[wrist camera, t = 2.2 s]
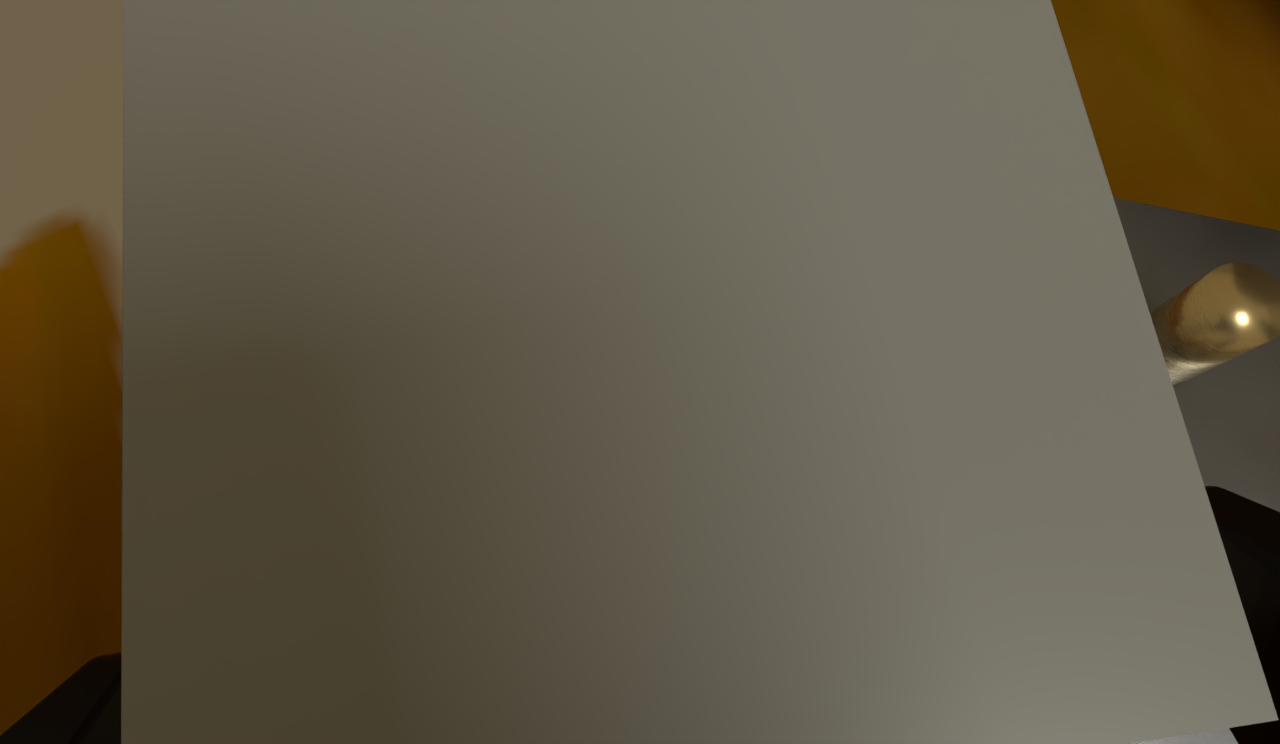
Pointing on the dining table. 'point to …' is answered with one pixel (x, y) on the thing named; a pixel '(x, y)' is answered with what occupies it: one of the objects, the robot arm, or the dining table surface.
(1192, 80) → the dining table surface
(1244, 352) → the plate
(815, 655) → the module box
